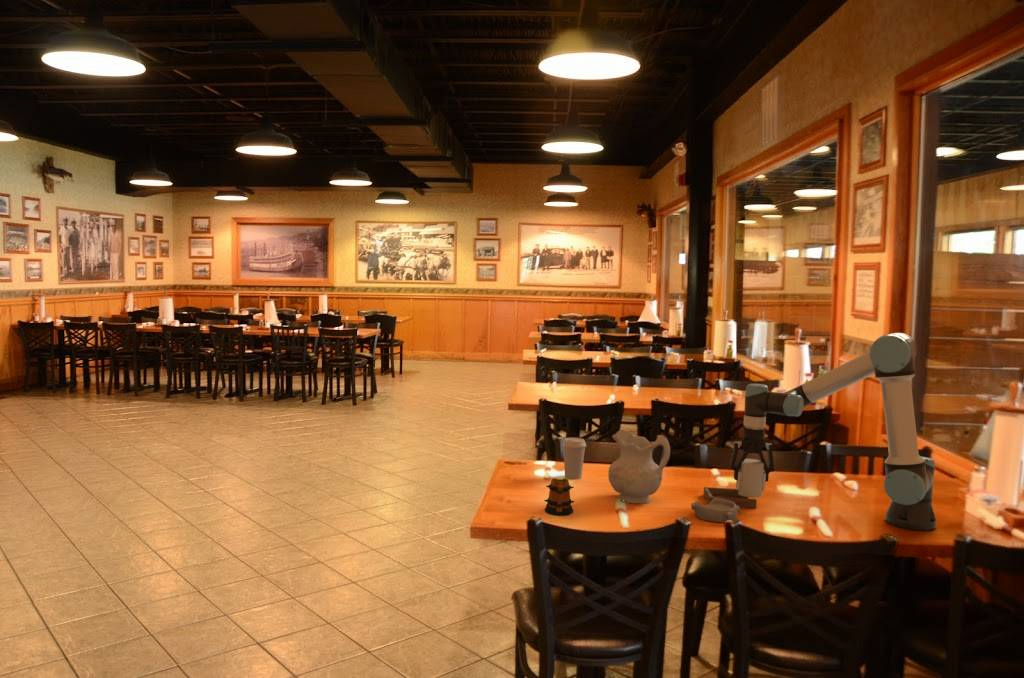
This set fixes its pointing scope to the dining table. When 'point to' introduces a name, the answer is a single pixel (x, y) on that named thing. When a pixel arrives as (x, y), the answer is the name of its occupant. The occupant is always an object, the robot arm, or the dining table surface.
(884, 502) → the dining table surface
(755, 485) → the cup
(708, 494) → the u rest
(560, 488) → the brown tiered piece
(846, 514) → the dining table surface
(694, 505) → the dish
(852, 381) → the robot arm
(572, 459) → the coffee cup
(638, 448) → the ceramic pitcher
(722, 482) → the dining table surface
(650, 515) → the dining table surface
